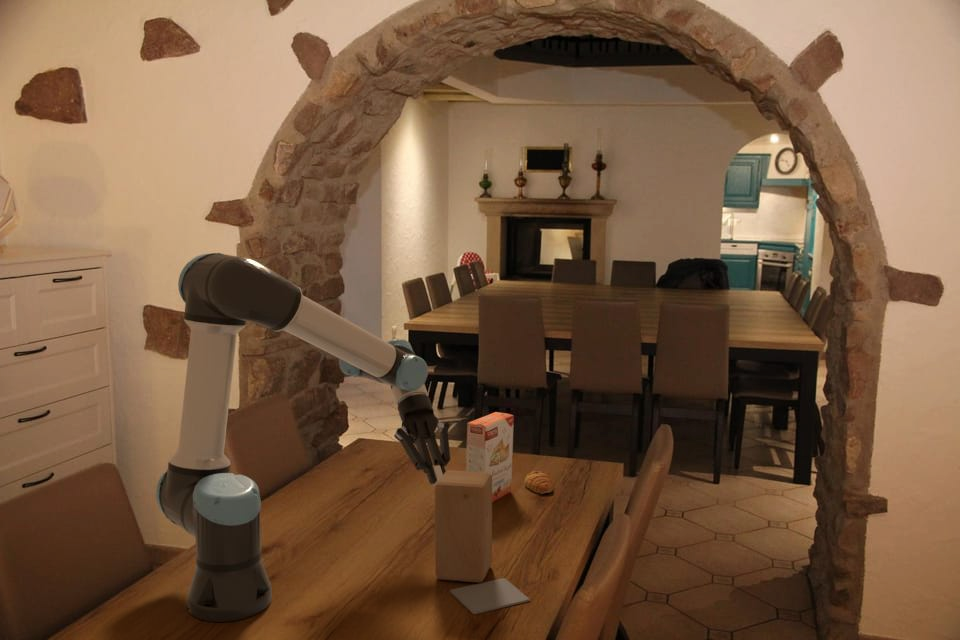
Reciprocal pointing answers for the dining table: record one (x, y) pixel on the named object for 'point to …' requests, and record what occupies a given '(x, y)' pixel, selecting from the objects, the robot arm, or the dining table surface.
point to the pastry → (538, 482)
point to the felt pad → (489, 595)
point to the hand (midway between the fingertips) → (443, 495)
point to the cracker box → (492, 450)
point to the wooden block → (463, 526)
